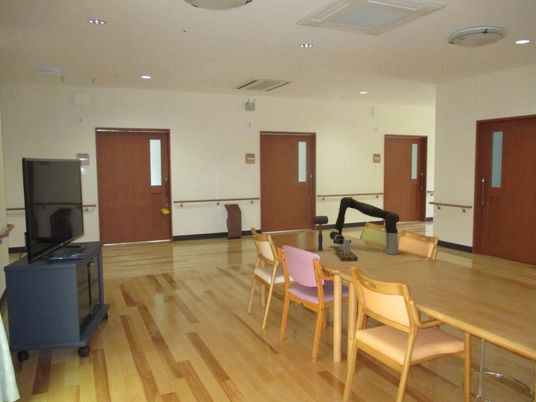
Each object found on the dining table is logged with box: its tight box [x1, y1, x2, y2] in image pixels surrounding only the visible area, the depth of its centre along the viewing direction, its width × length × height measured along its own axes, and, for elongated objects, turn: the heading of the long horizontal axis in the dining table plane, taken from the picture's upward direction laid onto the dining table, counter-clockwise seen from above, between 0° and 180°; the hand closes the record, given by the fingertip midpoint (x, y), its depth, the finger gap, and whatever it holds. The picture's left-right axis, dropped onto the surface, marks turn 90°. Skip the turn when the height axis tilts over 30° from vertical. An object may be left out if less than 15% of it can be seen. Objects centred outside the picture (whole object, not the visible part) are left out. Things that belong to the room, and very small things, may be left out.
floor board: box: [336, 250, 359, 262], centre depth 329 cm, size 12×20×3 cm, turn 2°
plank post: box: [343, 238, 351, 255], centre depth 329 cm, size 4×5×15 cm
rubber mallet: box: [312, 215, 329, 252], centre depth 356 cm, size 12×8×30 cm, turn 101°
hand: (344, 243), depth 338 cm, fingers open, 8 cm apart
